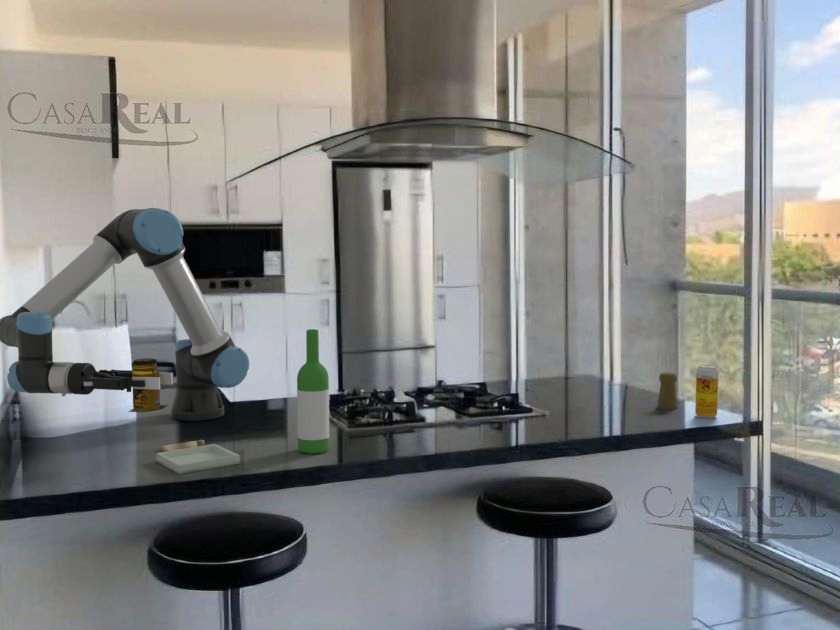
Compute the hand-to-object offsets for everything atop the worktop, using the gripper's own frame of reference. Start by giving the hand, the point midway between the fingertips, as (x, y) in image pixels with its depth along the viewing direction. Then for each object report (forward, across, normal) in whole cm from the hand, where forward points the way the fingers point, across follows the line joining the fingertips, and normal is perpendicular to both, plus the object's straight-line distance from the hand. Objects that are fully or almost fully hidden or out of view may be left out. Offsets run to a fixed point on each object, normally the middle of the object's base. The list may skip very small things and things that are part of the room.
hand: (165, 381), depth 198 cm
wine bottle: (+32, -14, -19) cm, 39 cm away
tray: (+8, +1, -19) cm, 21 cm away
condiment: (-5, -1, -7) cm, 9 cm away
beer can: (+135, -70, -19) cm, 153 cm away
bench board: (0, -9, -19) cm, 21 cm away
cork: (+126, -82, -19) cm, 151 cm away
